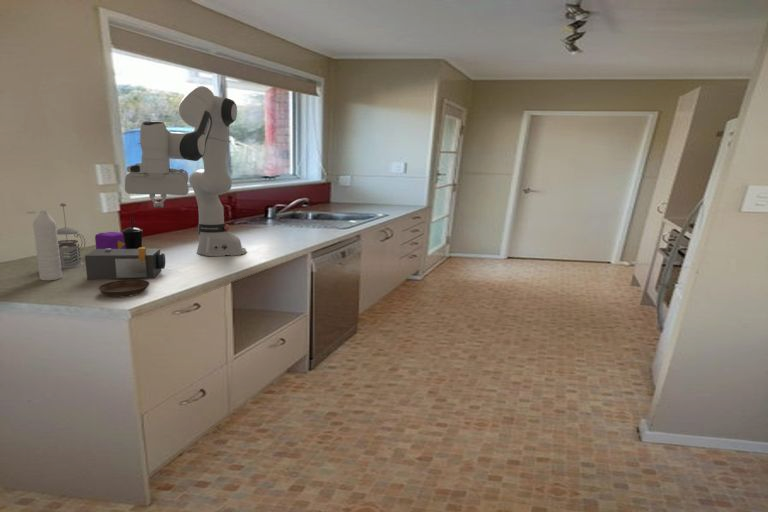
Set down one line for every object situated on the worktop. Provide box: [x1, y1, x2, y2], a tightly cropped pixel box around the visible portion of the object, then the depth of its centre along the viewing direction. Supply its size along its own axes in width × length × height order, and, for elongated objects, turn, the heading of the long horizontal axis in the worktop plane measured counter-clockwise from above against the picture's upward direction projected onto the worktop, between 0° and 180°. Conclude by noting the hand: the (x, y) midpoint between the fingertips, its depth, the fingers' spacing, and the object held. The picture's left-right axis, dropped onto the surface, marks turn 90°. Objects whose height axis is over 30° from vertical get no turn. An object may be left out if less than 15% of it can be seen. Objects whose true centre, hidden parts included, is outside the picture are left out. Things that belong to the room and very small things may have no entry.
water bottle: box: [26, 208, 63, 282], centre depth 155 cm, size 9×6×25 cm
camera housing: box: [84, 248, 166, 281], centre depth 167 cm, size 24×12×10 cm, turn 103°
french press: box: [56, 202, 86, 269], centre depth 176 cm, size 10×12×25 cm
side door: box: [115, 247, 147, 278], centre depth 160 cm, size 10×2×11 cm, turn 104°
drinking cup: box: [121, 214, 144, 249], centre depth 186 cm, size 8×8×20 cm
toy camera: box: [94, 231, 126, 250], centre depth 201 cm, size 11×14×10 cm
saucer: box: [97, 279, 150, 298], centre depth 148 cm, size 15×15×3 cm
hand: (158, 207), depth 159 cm, fingers closed
